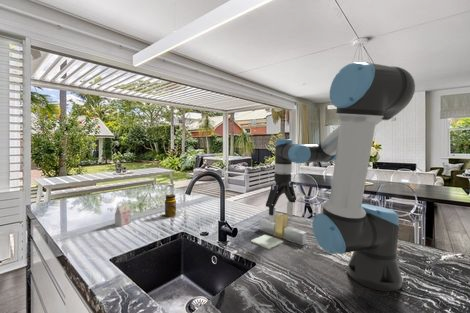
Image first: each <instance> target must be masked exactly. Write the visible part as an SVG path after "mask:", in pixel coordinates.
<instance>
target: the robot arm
mask: <svg viewBox="0 0 470 313" xmlns="http://www.w3.org/2000/svg"><path fill="white" fill-rule="evenodd" d="M415 89H416V84H415V79H414V77H413V75H412V74H411V73H410V72H409V71H408V70H406V69H405V68H402V67H400V66H392V65H391V66H389V65H384V64H378V63H374V62H373V63H372V62H368V61H367V62H358V61H357V62H351V63H347V64H346V65H344V66H343V67H342V68H340V70H339V71H338V73H336V75H335V76H334V78H333V79H332V81H331V84H330V89H329V99H330V102H331V105H333V106H334V107H336V112H335V115H336V116H337V117H338V119H339V120H340V124H339V126H338V127H337V128H335V129H334V130H333V131H332V132H331V133H330V134H328V136H326V137H325V138H324V139H323V140H322V141H320V142H319V143H317V144H316V143H315V144H314V143H312V144H311V143H308V144H307V143H306V144H304V143H293V141H294V140H292V139H291V138H277V139H276V140H275V146H274V148H275V149H274V150H275V151H274V172H275V173H274V179H273V180H274V182H275V184H271V185H270V191H269V194H268V197H267V199H266V203H265V207H267V208H268V220H269V221H270V222H273V223H275V215H276V204H277V202H278V201H279V199H280V197H281V196H282V195H283V194H284V195H285V196H286V199H287V200H288V201H287V202H286V215H288V217H289V216H290V217H293V214H294V211H293V210H294V203H296V201H297V197H296V193H295V188H294V182H292V174H291V173H292V172H293V171H292V170H293V169H292V168H293V167H292V166H293V163H295V164H305V163H331V162H334V168H333V173H332V180H331V181H332V182H331V188H330V195H329V200H326V201H325V202H324V203H323V206H322V212H321V213H320V212H319V213H318V214H316V215H315V216H313V219H312V232H313V236H314V237H315V240H316V242H317V243H318V245H319V247H320V248H321V249H322V250H323V251H324V252H326V253H327V254H331V255H335V254H340V255H344V254H345V253H351V252H353V253H352V255H351V256H350V260H348V264H347V265H348V266H347V273H348V275H349V277H350V278H351V279H352V280H354V282H357V283H358V284H360V285H362V286H364V287H366V288H369V289H371V290H375V291H379V292H389V293H390V292H396V291H399V290H401V289H402V287H403V276H402V273H401V269H400V266H399V263H398V260H397V258H398V257H397V255H398V243H399V240H398V239H399V230H400V229H399V227H400V218H399V215H398V213H397V212H396V211H394V210H393V209H389V208H387V207H383V206H378V205H374V204H373V205H372V204H366V203H363V200H364V199H363V198H364V193H365V187H366V182H367V181H366V180H367V175H368V171H369V170H368V169H369V163H370V158H371V153H372V146H373V140H374V135H375V130H376V126H377V125H378V124H379V123H381V122H382V121H389V120H391V119H392V118H394V117H395V116H397V115H398V114H399V113H400V112H402V111H403V110H404V109H405V108H406V107H407V106H408V105H409V104H410V102H411V101H412V99H413V97H414V94H415V92H416V90H415Z"/></svg>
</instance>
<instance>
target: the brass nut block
mask: <svg viewBox="0 0 470 313" xmlns="http://www.w3.org/2000/svg"><path fill="white" fill-rule="evenodd" d="M288 218H289V215H287V213H282V212H280V213H277V214H276V213H275V235H274V237H275V238H276V237H277V238H278V239H279V238H280V239H284V230H285V228H286V227H288V224H289V221H288V220H289V219H288Z"/></svg>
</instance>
